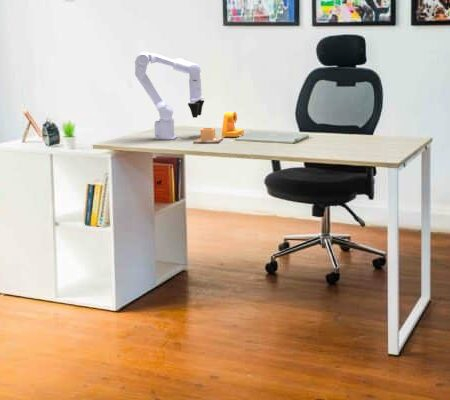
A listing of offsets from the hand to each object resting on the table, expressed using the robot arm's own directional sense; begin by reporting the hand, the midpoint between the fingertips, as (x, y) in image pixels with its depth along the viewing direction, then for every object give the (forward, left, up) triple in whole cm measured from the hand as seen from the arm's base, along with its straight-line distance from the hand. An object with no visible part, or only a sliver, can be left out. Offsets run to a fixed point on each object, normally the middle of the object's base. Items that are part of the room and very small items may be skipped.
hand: (196, 116), depth 462 cm
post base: (+8, -14, -10) cm, 19 cm away
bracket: (+17, +2, -11) cm, 21 cm away
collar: (+8, -14, -9) cm, 18 cm away
